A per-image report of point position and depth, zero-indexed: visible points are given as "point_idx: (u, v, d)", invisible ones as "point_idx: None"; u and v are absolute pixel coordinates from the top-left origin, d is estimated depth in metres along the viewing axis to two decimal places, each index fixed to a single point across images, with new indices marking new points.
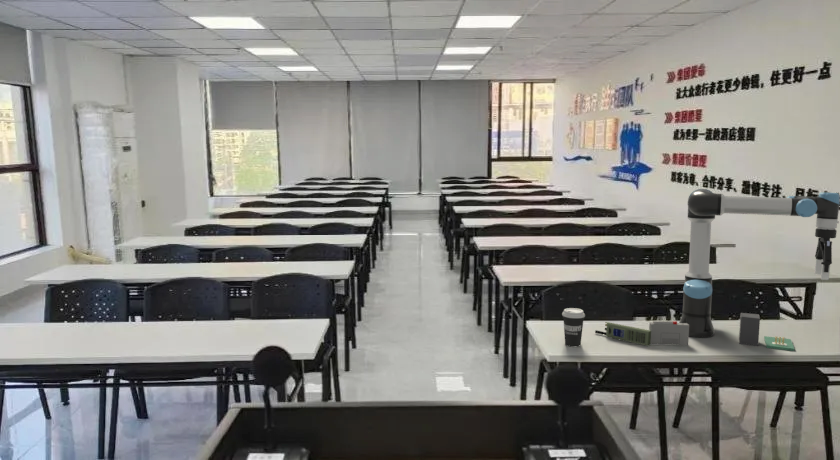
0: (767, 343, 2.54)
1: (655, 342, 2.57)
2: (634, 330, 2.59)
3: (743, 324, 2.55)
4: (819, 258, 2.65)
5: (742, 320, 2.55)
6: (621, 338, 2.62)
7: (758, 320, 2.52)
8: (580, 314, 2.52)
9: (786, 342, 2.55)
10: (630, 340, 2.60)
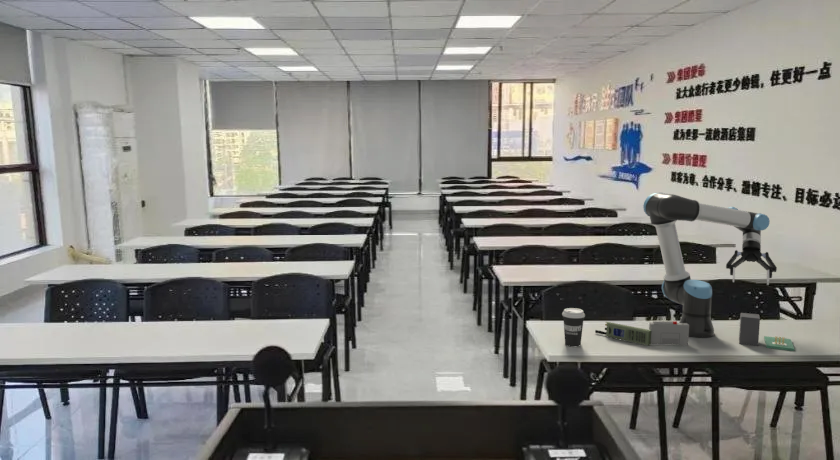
0: (767, 343, 2.54)
1: (655, 342, 2.57)
2: (634, 330, 2.59)
3: (743, 324, 2.55)
4: None
5: (742, 320, 2.55)
6: (622, 338, 2.63)
7: (758, 320, 2.52)
8: (580, 314, 2.52)
9: (786, 342, 2.55)
10: (630, 339, 2.60)
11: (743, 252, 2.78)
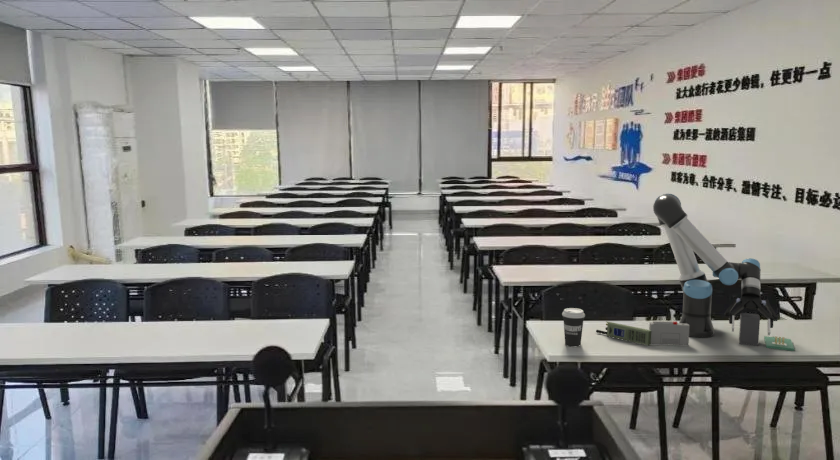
0: (767, 343, 2.54)
1: (655, 342, 2.57)
2: (634, 330, 2.59)
3: (743, 324, 2.55)
4: None
5: (742, 320, 2.55)
6: (622, 338, 2.63)
7: (758, 320, 2.52)
8: (580, 314, 2.52)
9: (786, 342, 2.55)
10: (630, 339, 2.61)
11: (742, 299, 2.65)
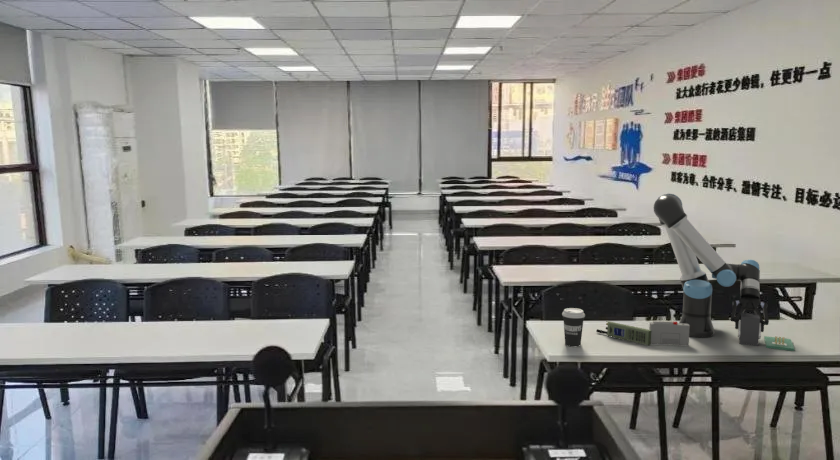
0: (767, 343, 2.54)
1: (655, 342, 2.57)
2: (634, 329, 2.59)
3: (743, 324, 2.55)
4: None
5: (742, 320, 2.55)
6: (622, 337, 2.63)
7: (758, 320, 2.52)
8: (580, 314, 2.52)
9: (786, 342, 2.55)
10: (630, 339, 2.61)
11: (741, 300, 2.64)
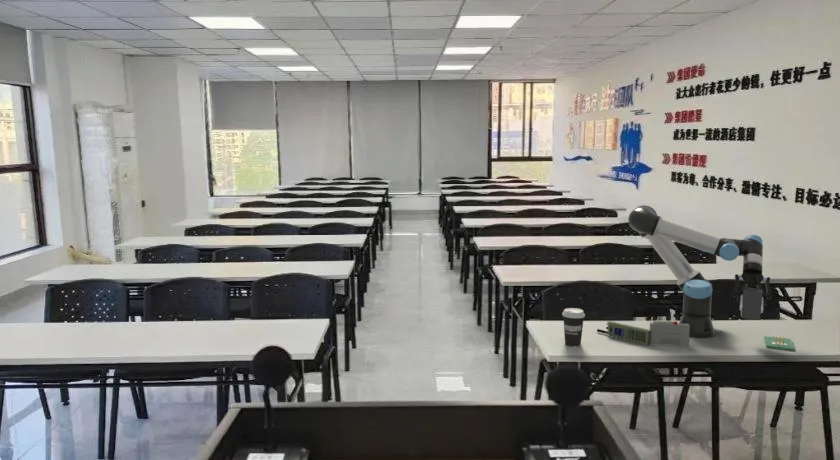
0: (767, 343, 2.54)
1: (655, 342, 2.57)
2: (634, 329, 2.59)
3: (745, 298, 2.53)
4: (740, 295, 2.58)
5: (744, 294, 2.53)
6: (622, 337, 2.63)
7: (760, 294, 2.51)
8: (580, 314, 2.52)
9: (786, 342, 2.55)
10: (630, 339, 2.61)
11: (744, 274, 2.63)
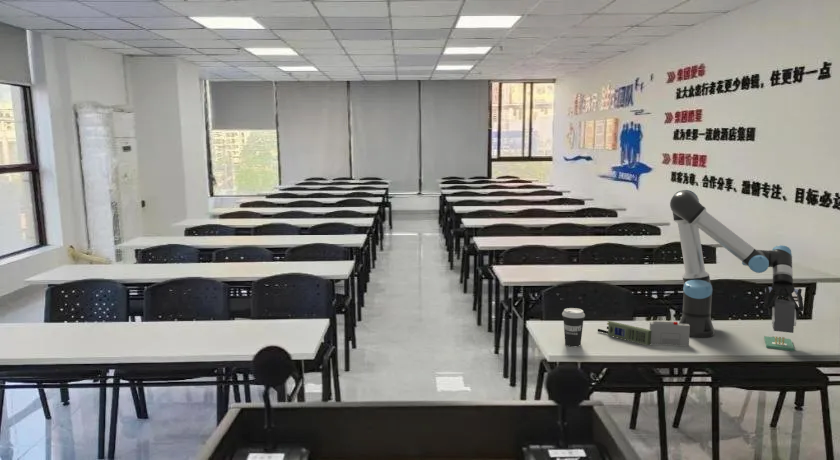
0: (767, 343, 2.54)
1: (655, 342, 2.57)
2: (634, 329, 2.60)
3: (777, 310, 2.49)
4: None
5: (776, 306, 2.49)
6: (622, 337, 2.64)
7: (793, 306, 2.46)
8: (580, 314, 2.52)
9: (786, 342, 2.55)
10: (630, 339, 2.61)
11: (774, 286, 2.58)
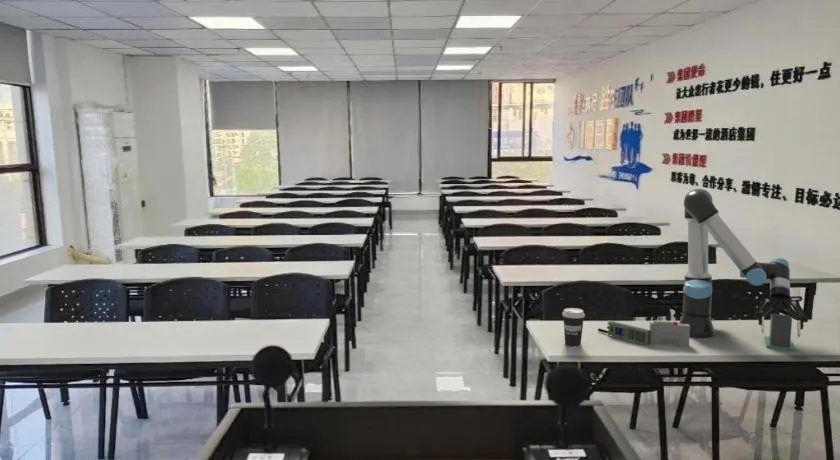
0: (767, 343, 2.54)
1: (655, 342, 2.57)
2: (634, 329, 2.60)
3: (774, 325, 2.50)
4: (761, 316, 2.57)
5: (773, 321, 2.50)
6: (622, 337, 2.64)
7: (789, 321, 2.47)
8: (580, 314, 2.52)
9: None
10: (630, 338, 2.62)
11: (771, 299, 2.59)
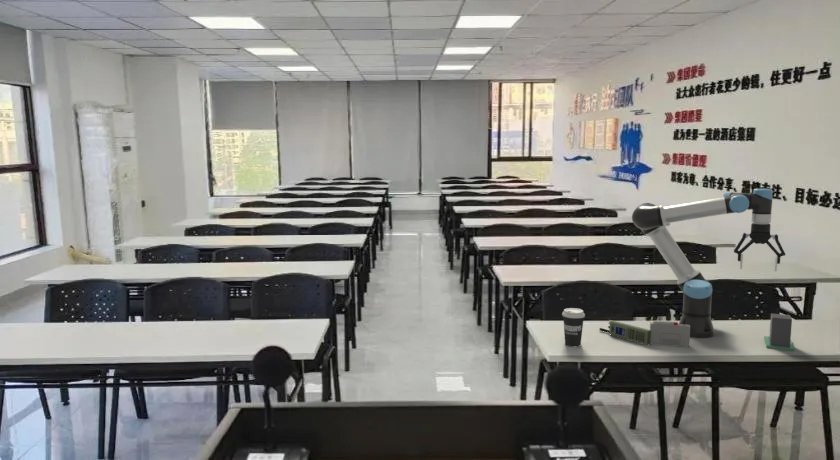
0: (767, 343, 2.54)
1: (655, 342, 2.57)
2: (634, 329, 2.60)
3: (774, 325, 2.50)
4: None
5: (773, 321, 2.50)
6: (623, 336, 2.65)
7: (789, 321, 2.47)
8: (580, 314, 2.52)
9: None
10: (630, 338, 2.62)
11: (752, 235, 2.69)
